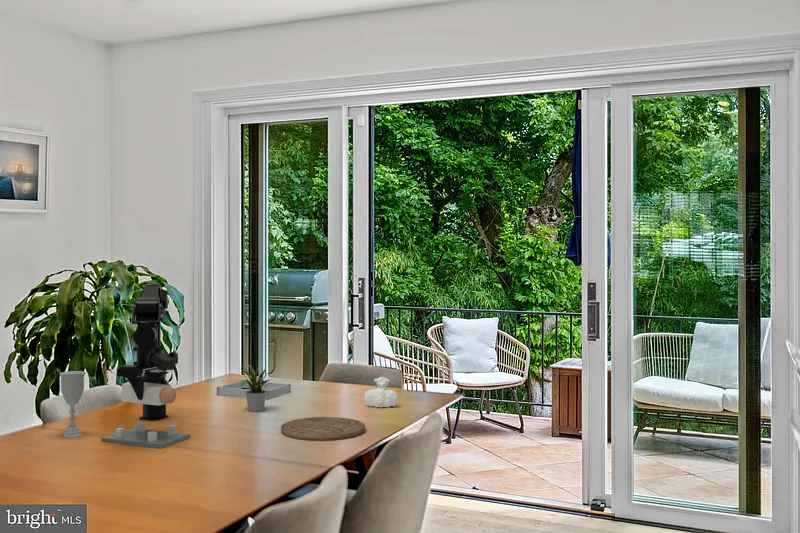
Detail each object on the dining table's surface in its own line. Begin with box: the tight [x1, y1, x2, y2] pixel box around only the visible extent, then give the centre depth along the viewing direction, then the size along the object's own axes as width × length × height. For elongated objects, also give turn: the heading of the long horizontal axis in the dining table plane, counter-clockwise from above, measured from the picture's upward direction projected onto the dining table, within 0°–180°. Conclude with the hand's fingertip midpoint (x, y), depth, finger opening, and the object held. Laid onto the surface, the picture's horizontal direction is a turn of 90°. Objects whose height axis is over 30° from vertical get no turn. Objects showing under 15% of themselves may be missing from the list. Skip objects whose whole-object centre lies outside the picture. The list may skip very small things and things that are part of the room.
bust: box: [363, 376, 399, 408], centre depth 260 cm, size 12×8×11 cm
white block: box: [121, 382, 177, 406], centre depth 210 cm, size 16×5×5 cm, turn 64°
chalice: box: [58, 370, 87, 438], centre depth 214 cm, size 7×7×18 cm
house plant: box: [238, 363, 277, 413], centre depth 251 cm, size 14×14×16 cm
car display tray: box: [216, 380, 292, 400], centre depth 282 cm, size 22×17×3 cm
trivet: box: [280, 416, 366, 442], centre depth 222 cm, size 25×25×2 cm
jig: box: [101, 421, 191, 449], centre depth 209 cm, size 20×13×4 cm, turn 69°
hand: (146, 398), depth 210 cm, fingers closed on white block, 5 cm apart
